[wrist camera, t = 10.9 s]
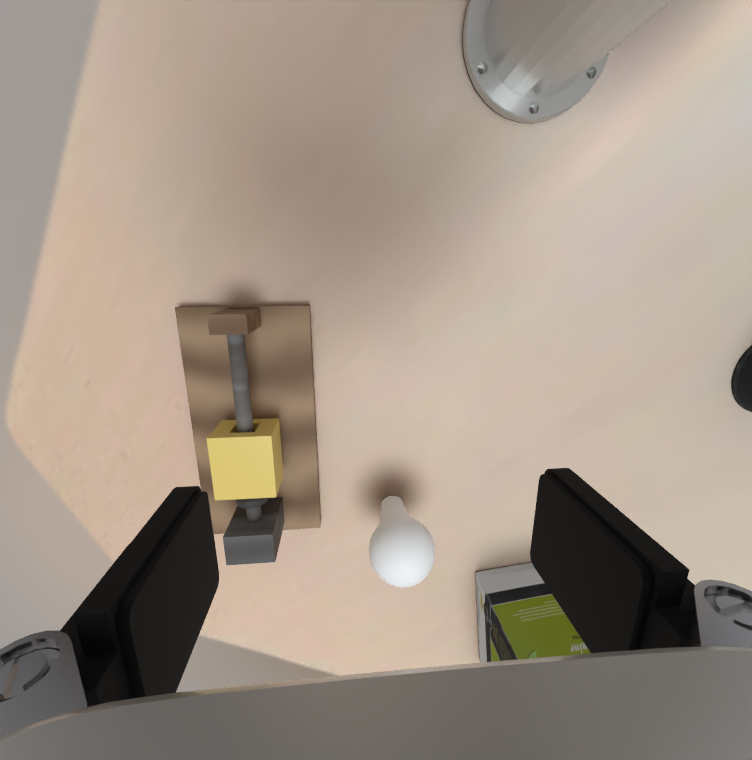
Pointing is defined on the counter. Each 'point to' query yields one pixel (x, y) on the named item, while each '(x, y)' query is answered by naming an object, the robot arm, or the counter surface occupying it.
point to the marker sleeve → (246, 460)
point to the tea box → (521, 617)
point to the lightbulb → (400, 546)
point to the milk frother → (743, 381)
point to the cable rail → (254, 413)
